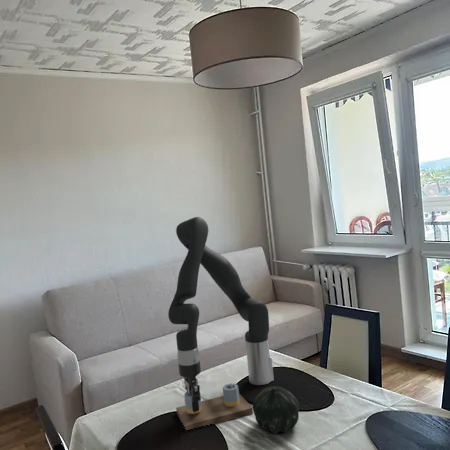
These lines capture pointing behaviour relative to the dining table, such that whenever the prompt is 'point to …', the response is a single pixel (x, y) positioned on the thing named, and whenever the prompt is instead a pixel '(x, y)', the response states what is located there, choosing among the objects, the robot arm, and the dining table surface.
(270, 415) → the squash
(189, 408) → the slate sleeve
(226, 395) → the seated sleeve
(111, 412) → the dining table surface
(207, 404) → the pin board
